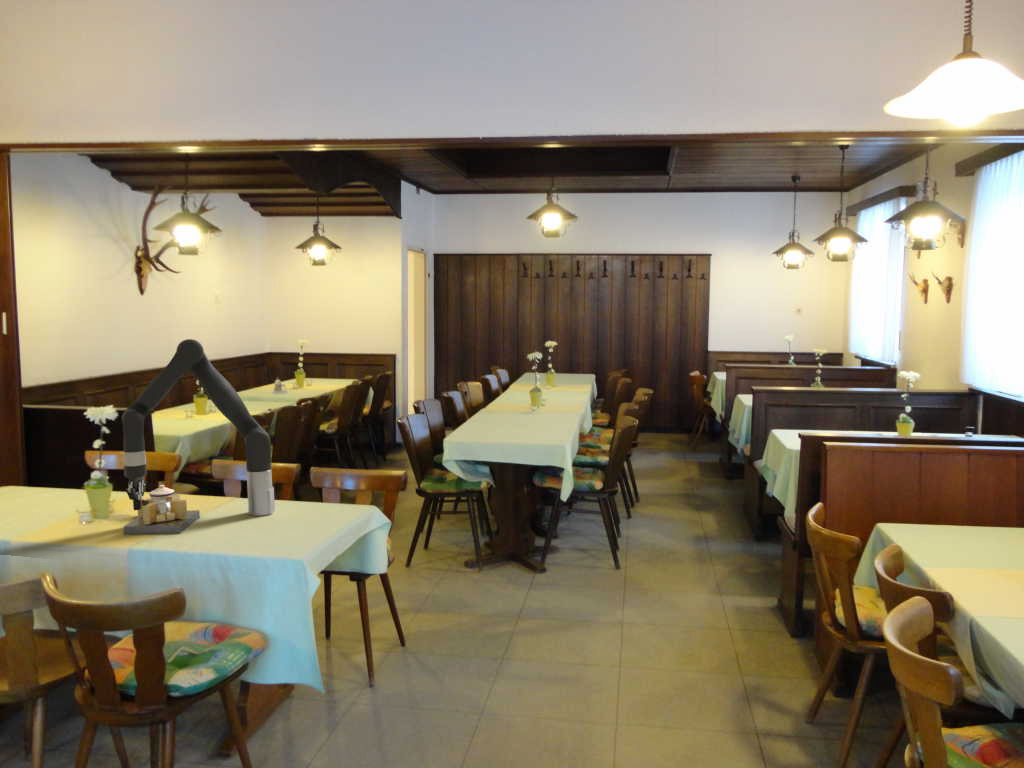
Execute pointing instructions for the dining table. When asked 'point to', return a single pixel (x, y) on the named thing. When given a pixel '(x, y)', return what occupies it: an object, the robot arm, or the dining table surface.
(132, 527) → the gray flat tray
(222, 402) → the robot arm
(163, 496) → the teacup with lid
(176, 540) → the dining table surface
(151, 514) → the tan blocky ring
